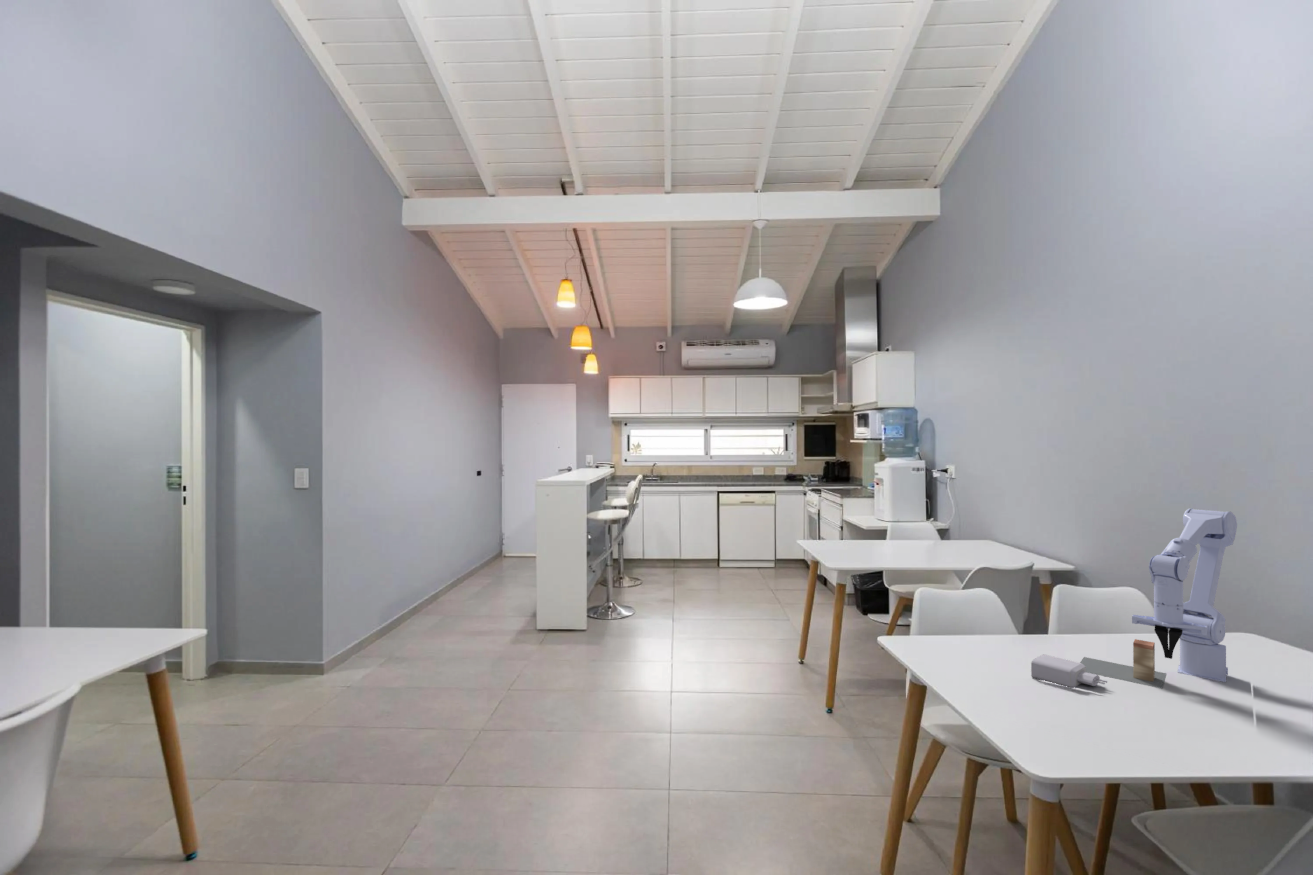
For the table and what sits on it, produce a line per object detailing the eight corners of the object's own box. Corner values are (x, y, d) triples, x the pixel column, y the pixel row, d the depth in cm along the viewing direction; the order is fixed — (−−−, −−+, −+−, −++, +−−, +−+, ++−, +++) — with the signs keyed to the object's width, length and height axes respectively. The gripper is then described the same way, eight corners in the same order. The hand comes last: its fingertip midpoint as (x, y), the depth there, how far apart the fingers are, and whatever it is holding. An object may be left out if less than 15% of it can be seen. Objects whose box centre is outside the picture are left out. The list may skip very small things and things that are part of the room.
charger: (1099, 697, 147) (1031, 678, 159) (1112, 688, 153) (1045, 670, 165) (1099, 677, 147) (1031, 660, 159) (1112, 669, 153) (1045, 652, 165)
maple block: (1154, 677, 158) (1154, 642, 158) (1153, 681, 155) (1153, 646, 156) (1135, 673, 161) (1135, 639, 161) (1133, 677, 158) (1133, 642, 158)
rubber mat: (1166, 675, 161) (1166, 673, 161) (1162, 690, 151) (1162, 688, 151) (1084, 658, 174) (1084, 656, 174) (1074, 671, 163) (1074, 669, 163)
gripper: (1130, 600, 157) (1130, 654, 157) (1206, 611, 147) (1206, 668, 147) (1133, 596, 162) (1133, 647, 162) (1207, 606, 153) (1207, 661, 152)
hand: (1168, 657), depth 155 cm, fingers closed
